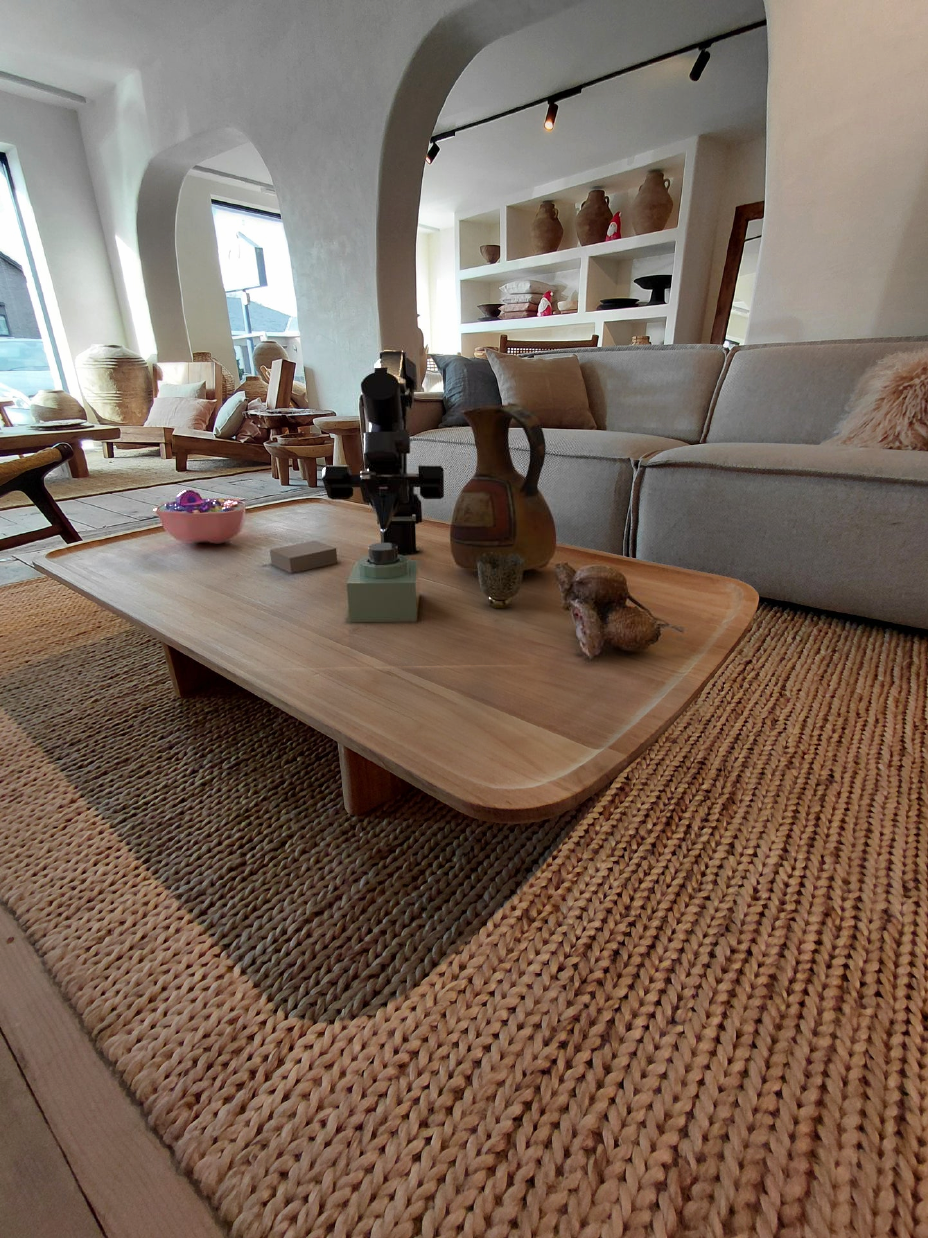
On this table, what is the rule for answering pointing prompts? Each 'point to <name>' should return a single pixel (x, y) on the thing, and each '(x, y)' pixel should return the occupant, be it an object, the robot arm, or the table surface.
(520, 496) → the ceramic pitcher
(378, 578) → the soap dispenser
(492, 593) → the cup
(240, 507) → the cell model
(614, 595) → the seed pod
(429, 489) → the robot arm
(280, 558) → the brown rectangular block
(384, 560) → the dark grey metal cylinder
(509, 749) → the table surface
